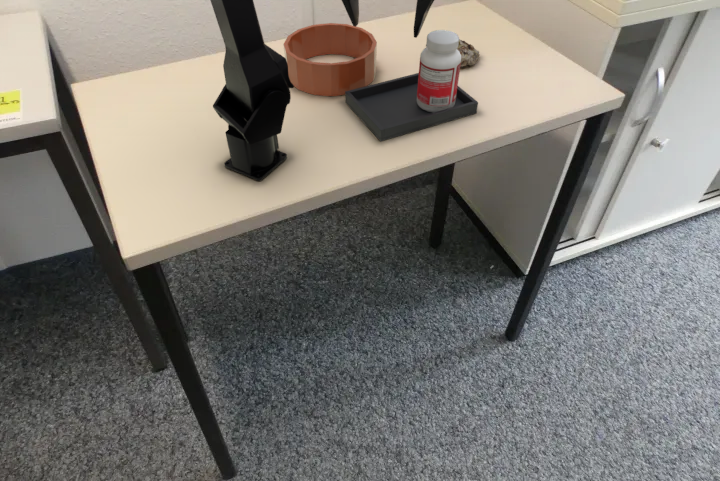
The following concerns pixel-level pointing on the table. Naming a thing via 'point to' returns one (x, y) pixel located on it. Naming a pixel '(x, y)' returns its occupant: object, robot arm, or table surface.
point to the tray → (402, 107)
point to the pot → (330, 75)
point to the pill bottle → (439, 71)
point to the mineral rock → (467, 53)
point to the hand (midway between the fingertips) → (385, 30)
